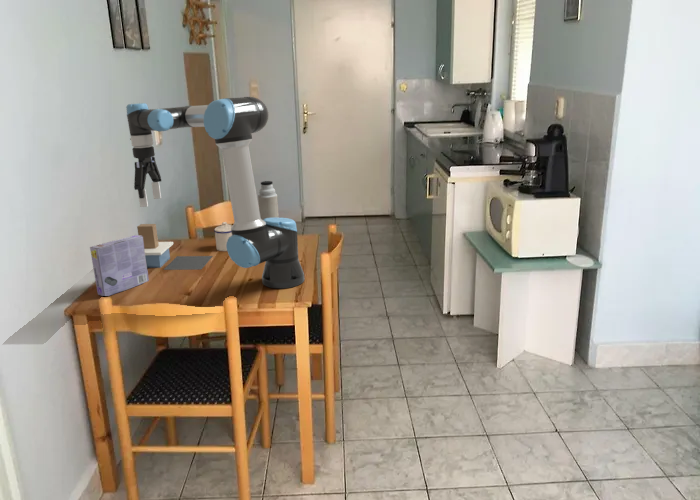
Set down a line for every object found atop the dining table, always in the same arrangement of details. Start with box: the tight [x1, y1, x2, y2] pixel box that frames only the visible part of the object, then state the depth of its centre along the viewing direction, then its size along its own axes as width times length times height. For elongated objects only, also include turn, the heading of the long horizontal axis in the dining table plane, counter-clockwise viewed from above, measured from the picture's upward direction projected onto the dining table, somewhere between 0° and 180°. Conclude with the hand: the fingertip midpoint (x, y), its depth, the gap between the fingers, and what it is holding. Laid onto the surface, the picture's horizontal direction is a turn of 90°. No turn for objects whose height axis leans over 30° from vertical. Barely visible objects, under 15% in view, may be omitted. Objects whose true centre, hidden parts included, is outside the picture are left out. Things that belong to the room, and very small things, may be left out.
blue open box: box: [145, 248, 171, 269], centre depth 227 cm, size 11×11×6 cm
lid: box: [136, 223, 174, 255], centre depth 224 cm, size 14×14×10 cm
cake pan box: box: [89, 234, 149, 297], centre depth 201 cm, size 19×5×18 cm, turn 145°
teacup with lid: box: [213, 221, 233, 252], centre depth 243 cm, size 12×9×12 cm
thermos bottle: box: [257, 180, 280, 220], centre depth 242 cm, size 8×8×28 cm
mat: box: [163, 255, 214, 271], centre depth 227 cm, size 16×15×1 cm
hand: (151, 202), depth 218 cm, fingers open, 13 cm apart
